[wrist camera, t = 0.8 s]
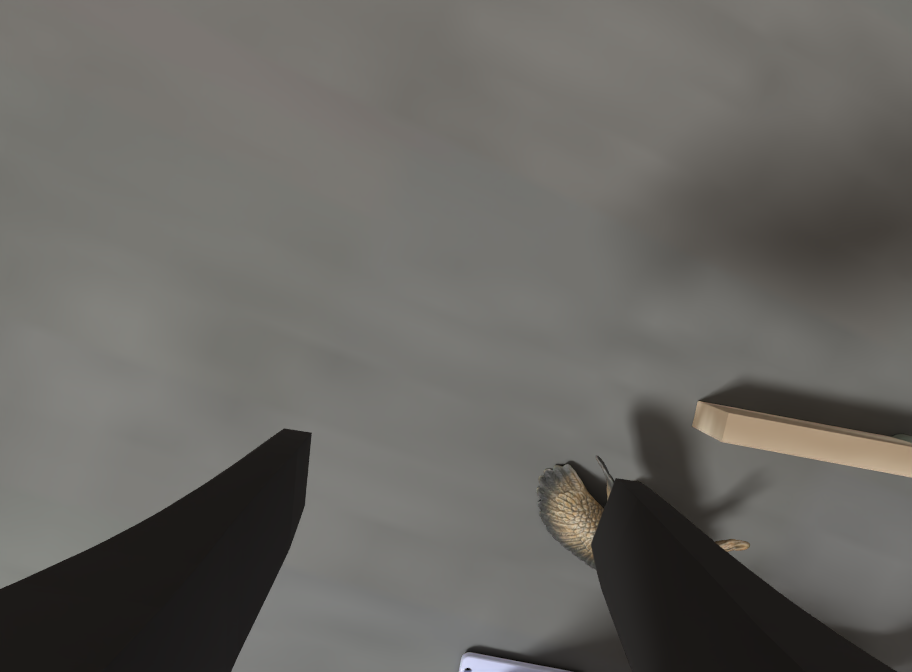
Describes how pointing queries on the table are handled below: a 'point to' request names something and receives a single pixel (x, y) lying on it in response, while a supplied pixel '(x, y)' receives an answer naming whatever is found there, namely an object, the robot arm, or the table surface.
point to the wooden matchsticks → (806, 438)
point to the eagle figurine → (581, 511)
